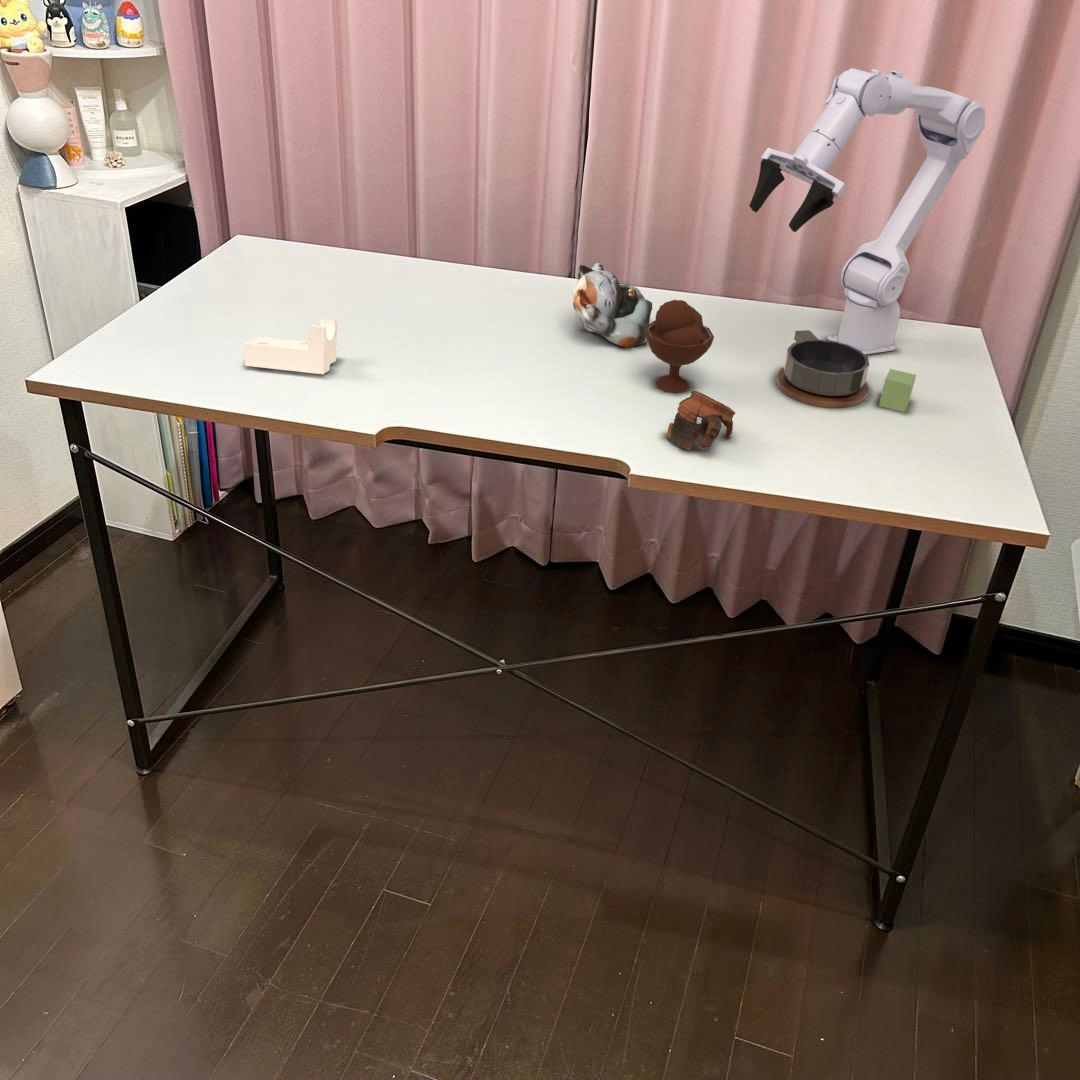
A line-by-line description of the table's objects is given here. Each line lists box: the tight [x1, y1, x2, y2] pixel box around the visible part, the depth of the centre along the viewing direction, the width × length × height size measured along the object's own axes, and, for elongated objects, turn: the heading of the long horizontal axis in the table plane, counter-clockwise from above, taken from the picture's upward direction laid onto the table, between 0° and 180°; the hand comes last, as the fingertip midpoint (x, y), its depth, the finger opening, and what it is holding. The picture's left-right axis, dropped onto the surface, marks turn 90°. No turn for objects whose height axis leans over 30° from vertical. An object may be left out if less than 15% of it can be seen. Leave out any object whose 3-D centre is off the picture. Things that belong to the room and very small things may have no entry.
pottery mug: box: [666, 390, 736, 452], centre depth 171 cm, size 12×10×8 cm
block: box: [878, 368, 917, 413], centre depth 184 cm, size 4×4×5 cm
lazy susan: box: [776, 366, 869, 409], centre depth 190 cm, size 15×15×1 cm
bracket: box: [244, 318, 338, 375], centre depth 185 cm, size 13×7×8 cm, turn 82°
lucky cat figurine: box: [571, 262, 653, 349], centre depth 200 cm, size 15×12×14 cm
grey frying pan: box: [783, 329, 870, 396], centre depth 189 cm, size 17×13×4 cm
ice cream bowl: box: [645, 299, 715, 394], centre depth 183 cm, size 11×11×15 cm
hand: (772, 218), depth 175 cm, fingers open, 7 cm apart
